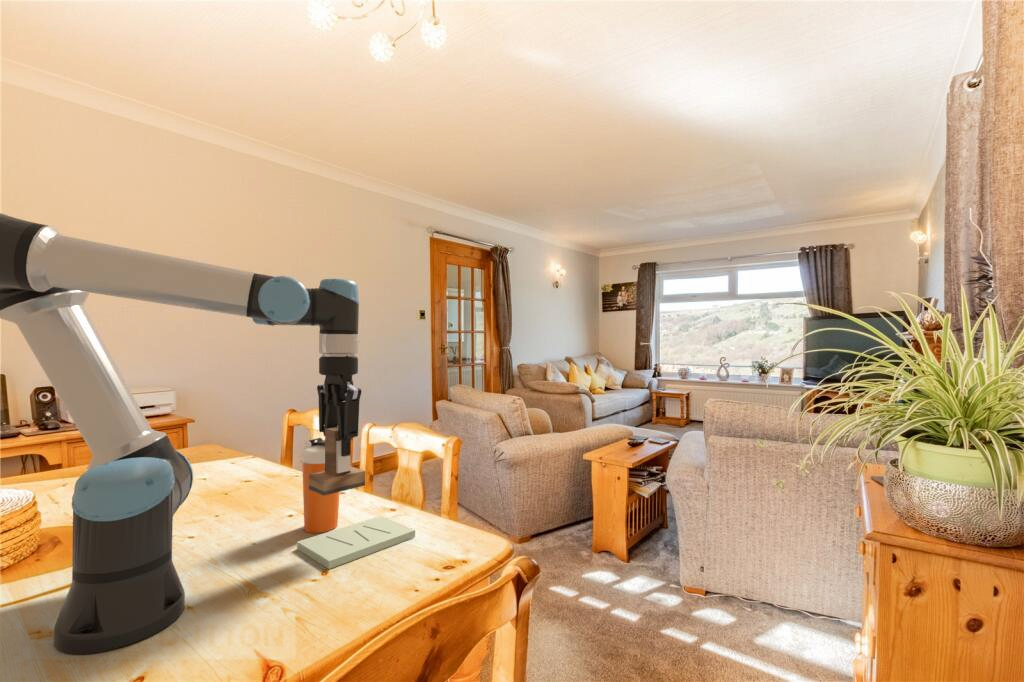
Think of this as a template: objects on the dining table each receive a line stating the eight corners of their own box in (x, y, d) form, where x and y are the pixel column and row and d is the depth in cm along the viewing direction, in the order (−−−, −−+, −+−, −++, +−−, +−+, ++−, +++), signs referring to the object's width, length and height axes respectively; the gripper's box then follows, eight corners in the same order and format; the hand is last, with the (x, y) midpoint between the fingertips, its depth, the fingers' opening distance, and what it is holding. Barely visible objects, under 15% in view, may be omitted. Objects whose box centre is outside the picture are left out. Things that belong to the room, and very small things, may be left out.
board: (329, 569, 89) (329, 560, 89) (297, 549, 97) (297, 541, 97) (415, 536, 104) (415, 529, 104) (380, 522, 112) (381, 515, 112)
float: (323, 495, 91) (324, 433, 92) (308, 489, 95) (309, 429, 95) (365, 485, 98) (365, 427, 98) (349, 479, 102) (350, 424, 102)
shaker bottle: (327, 536, 104) (328, 445, 104) (291, 532, 105) (292, 443, 105) (349, 521, 112) (350, 437, 112) (315, 518, 114) (316, 435, 114)
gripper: (378, 356, 94) (376, 473, 94) (335, 354, 105) (333, 459, 105) (343, 356, 89) (342, 481, 89) (301, 354, 100) (300, 466, 99)
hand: (337, 469), depth 97 cm, fingers closed on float, 4 cm apart
